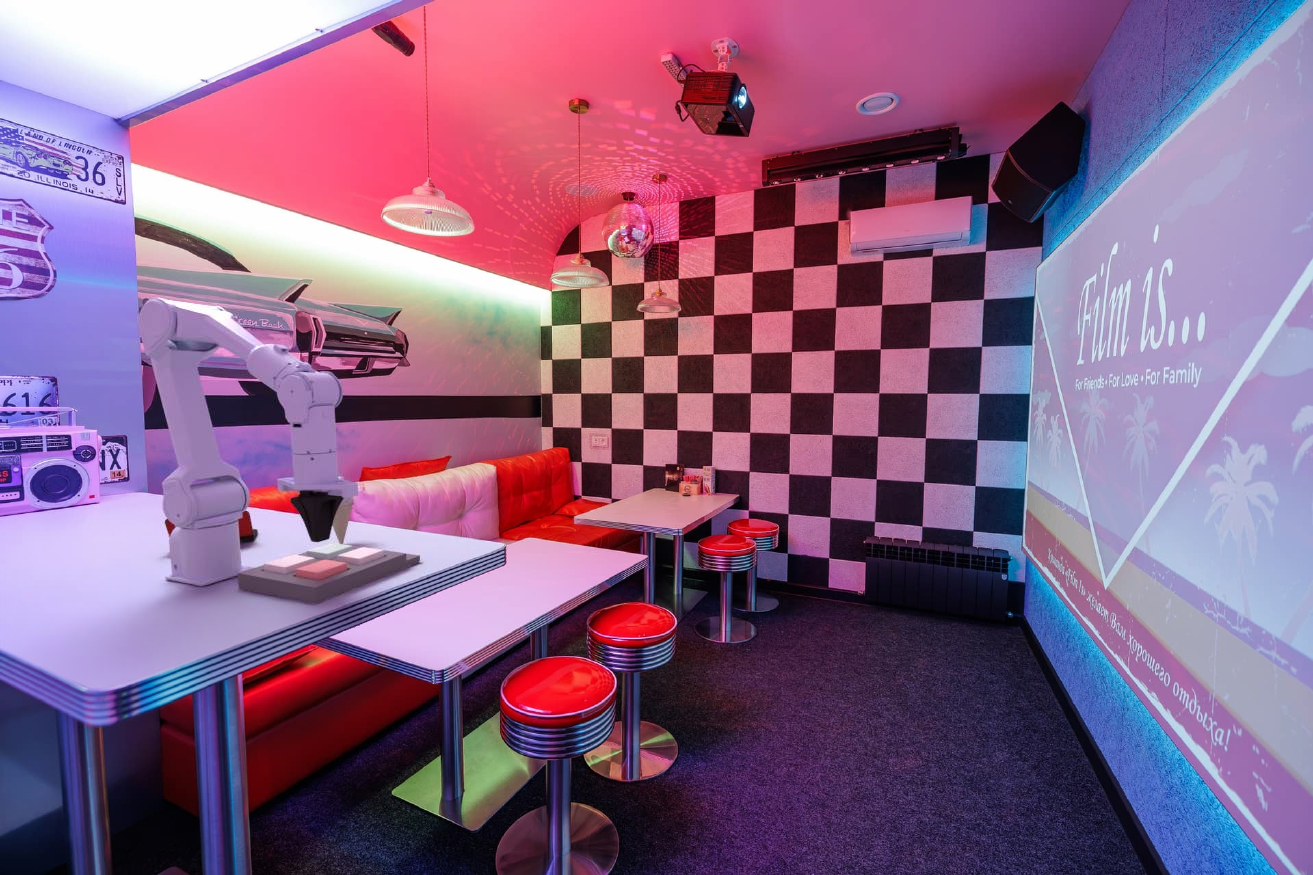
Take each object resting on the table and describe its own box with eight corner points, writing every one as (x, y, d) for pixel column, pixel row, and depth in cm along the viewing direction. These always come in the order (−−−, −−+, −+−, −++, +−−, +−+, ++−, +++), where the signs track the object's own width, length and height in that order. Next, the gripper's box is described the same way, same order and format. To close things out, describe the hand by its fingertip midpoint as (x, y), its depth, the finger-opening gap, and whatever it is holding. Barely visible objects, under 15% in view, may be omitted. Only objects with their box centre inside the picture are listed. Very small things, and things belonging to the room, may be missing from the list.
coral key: (295, 576, 81) (295, 569, 81) (325, 566, 85) (324, 559, 85) (318, 580, 79) (318, 572, 79) (347, 570, 84) (347, 562, 84)
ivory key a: (264, 571, 83) (263, 563, 83) (294, 561, 88) (294, 554, 88) (285, 574, 82) (285, 567, 81) (315, 565, 86) (314, 557, 86)
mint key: (307, 557, 90) (306, 550, 90) (333, 549, 94) (332, 542, 94) (327, 560, 88) (327, 553, 88) (353, 552, 93) (353, 545, 93)
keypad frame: (238, 588, 82) (237, 572, 82) (350, 551, 100) (350, 538, 100) (316, 604, 76) (314, 587, 76) (420, 562, 95) (419, 548, 94)
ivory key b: (337, 562, 87) (337, 555, 87) (362, 553, 92) (362, 547, 92) (359, 565, 86) (359, 558, 86) (384, 556, 90) (383, 550, 90)
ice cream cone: (346, 548, 102) (342, 471, 101) (320, 548, 102) (315, 471, 101) (361, 540, 107) (357, 467, 106) (336, 540, 107) (332, 467, 106)
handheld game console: (258, 533, 113) (256, 499, 113) (251, 547, 104) (249, 509, 103) (181, 542, 107) (178, 505, 106) (166, 557, 98) (163, 517, 97)
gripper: (373, 451, 82) (378, 537, 83) (306, 447, 87) (311, 529, 88) (331, 456, 75) (337, 550, 76) (261, 452, 80) (267, 540, 81)
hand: (320, 540), depth 82 cm, fingers closed
